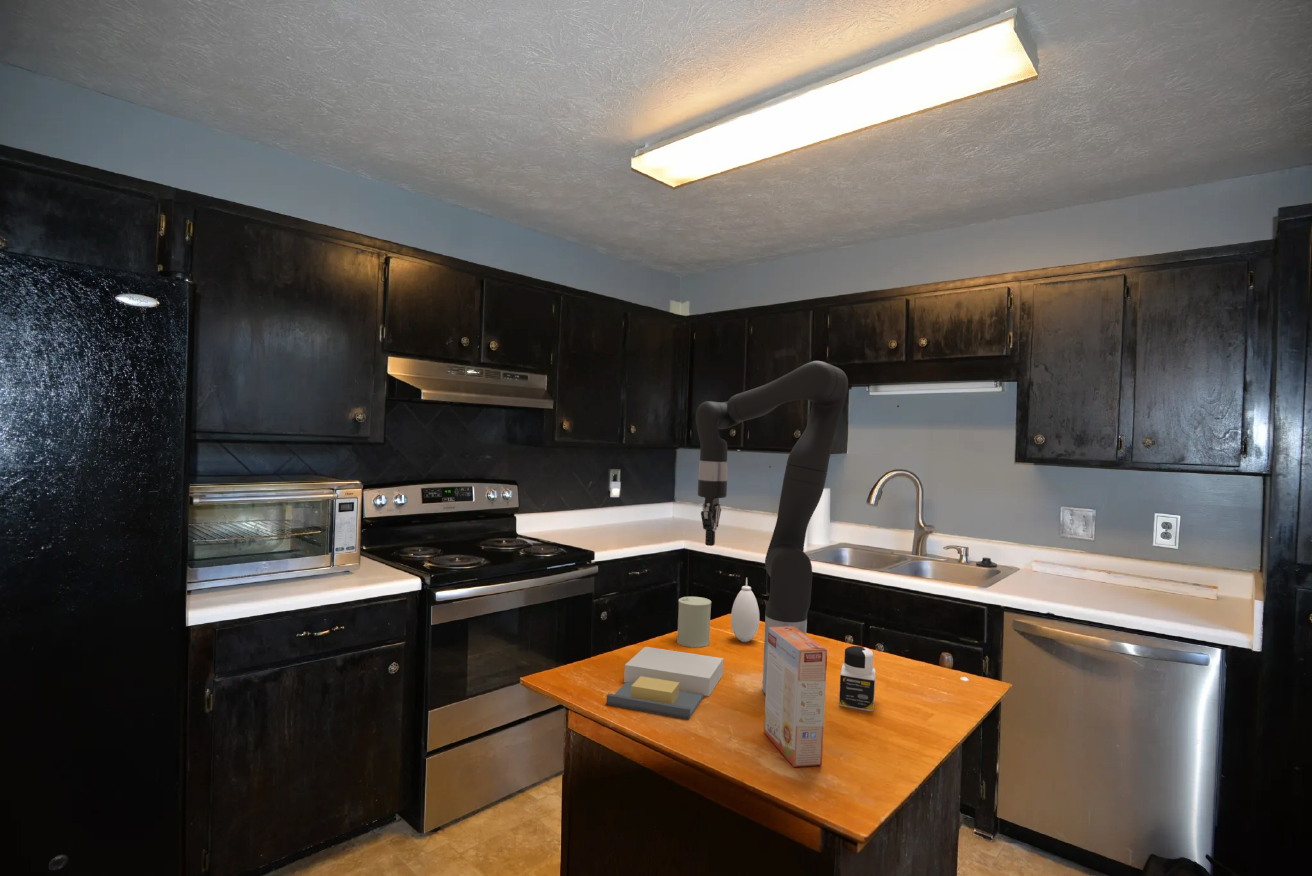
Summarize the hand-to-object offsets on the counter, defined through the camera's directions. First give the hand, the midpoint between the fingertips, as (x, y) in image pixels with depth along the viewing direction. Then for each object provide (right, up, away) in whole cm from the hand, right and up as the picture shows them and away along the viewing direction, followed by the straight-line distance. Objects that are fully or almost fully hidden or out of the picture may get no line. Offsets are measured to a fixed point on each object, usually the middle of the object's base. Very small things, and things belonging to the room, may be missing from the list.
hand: (710, 545), depth 169 cm
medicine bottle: (+30, -31, -26) cm, 50 cm away
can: (-4, -29, +12) cm, 31 cm away
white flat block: (-10, -29, -16) cm, 34 cm away
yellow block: (-14, -27, -29) cm, 42 cm away
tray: (-14, -29, -29) cm, 43 cm away
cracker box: (+11, -30, -48) cm, 58 cm away
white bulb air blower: (+11, -30, +14) cm, 35 cm away
